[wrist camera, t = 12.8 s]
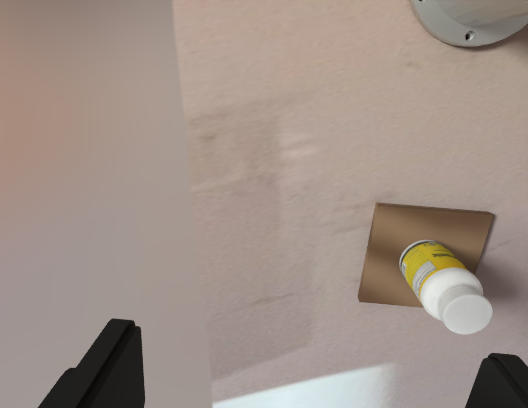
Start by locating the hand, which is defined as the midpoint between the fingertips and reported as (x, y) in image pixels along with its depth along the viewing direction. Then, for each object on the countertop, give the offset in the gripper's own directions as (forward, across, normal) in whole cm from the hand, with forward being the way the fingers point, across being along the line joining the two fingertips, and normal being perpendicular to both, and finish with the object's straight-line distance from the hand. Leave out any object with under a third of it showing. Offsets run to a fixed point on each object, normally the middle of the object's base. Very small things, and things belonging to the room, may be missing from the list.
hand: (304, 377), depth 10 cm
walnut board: (+28, -16, +10) cm, 34 cm away
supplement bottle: (+28, -16, +10) cm, 33 cm away
